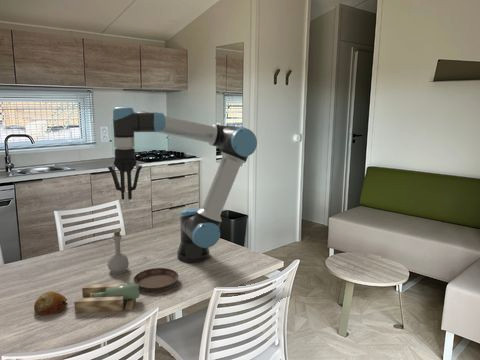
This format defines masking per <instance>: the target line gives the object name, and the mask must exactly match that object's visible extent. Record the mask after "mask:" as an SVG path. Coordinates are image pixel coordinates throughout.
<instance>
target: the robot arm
mask: <svg viewBox="0 0 480 360" xmlns="http://www.w3.org/2000/svg"><path fill="white" fill-rule="evenodd" d="M112 111H113V112H112V114H113V115H112V123H113V142H114V143H113V145H114V146H113V147H114V148H115V149H114V161H113V163H112V164H110V165H109V166H108V167H107V169H108V170H109V172H110V173H111V177H112V181H113V183H114V186H115V190H116V191H119V192H120V193H121V195H120V196H121V200H122V201H124V209H129V208H130V200H132V198H133V191H135V190H137V186H138V183H139V177H140V173H141V172H140V171H141V170H142V169H143V165H142V164H141V165H140V164H139V163H137V160H136V149H135V146H136V145H135V133H159V134H162V135H163V134H165V135H168V136H173V137H179V138H183V139H190V140H193V141H199V142H204V143H207V144H209V146H213V147H216V148H219V149H221V150H220V155H221V156H222V157H221V160H220V162H219V164H218V165H219V166H218V168H217V171H216V172H215V175H214V177H213V179H212V183H211V184H210V188H209V190H208V192H207V194H206V197H205V200H204V202H203V204H202V207H200V208H199V207H198V208H195V207H191V208H184V209H182V210H181V211H180V216H179V220H180V222H179V223H180V225H179V226H180V243H179V246H178V249H177V254H176V256H177V257H176V258H177V260H179V261H181V262H184V263H189V264H190V263H193V264H194V263H195V264H196V263H200V262H205V261H206V260H208V259H210V254H211V253H210V248H211V247H213V246H215V245H216V244H217V243H218V242H219V240H220V239H221V238H220V237H221V230H220V226H221V223H222V217H221V214H222V212H223V209H224V207H225V205H226V202H227V200H228V197H229V195H230V192H231V190H232V187H233V186H234V182H235V180H236V177H237V175H238V172H239V170H240V169H241V165H243V164H245V163H246V162H247V159H248V158H249V156H251V155H253V154H254V152H255V151H256V149H257V145H258V139H257V137H256V134H255V133H254V131H252V130H251V129H249V128H247V127H243V126H236V125H235V126H234V125H219V124H214V123H213V124H212V125H210V124H209V125H208V124H204V123H199V122H194V121H190V120H185V119H181V118H176V117H170V116H167V115H165V114H164V113H163V112H156V111H155V112H150V111H149V112H148V111H144V110H141V111H138V112H135V111H134V108H133V107H129V106H127V107H126V106H125V107H123V106H122V107H121V106H120V107H119V106H118V107H116V106H115V108H114V107H113V110H112ZM134 168H135V170H136V171H135V175H134V179H133V184H132V171H133V170H134ZM116 169H117V170H118V171H119V176H120V180H119V179H118V175H117V171H116ZM125 173H126V179H125ZM126 180H127V181H126ZM119 181H120V182H119ZM126 182H127V190H126Z"/></svg>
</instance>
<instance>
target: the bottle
mask: <svg viewBox="0 0 480 360" xmlns="http://www.w3.org/2000/svg"><path fill="white" fill-rule="evenodd" d="M120 296H123V300H126V301H127V300H128V299H134V300H135V299H139V298H140V288H139V285H138V284H135V283H134V284H128V285H125V286H116V287H108V288H106V292H100V293H90V298H97V297H120Z"/></svg>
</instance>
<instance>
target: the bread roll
mask: <svg viewBox="0 0 480 360" xmlns="http://www.w3.org/2000/svg"><path fill="white" fill-rule="evenodd" d="M67 301H68V299H67V298H66V296H65V295H62V294H61V293H59V292H56V291H53V290H48V291H46V292H44V293H42V294H40V296H39V297H37V299H36V300H35V302H34V305H33V310H34V312H35V314H36V315H39V316H45V317H46V316H50V315H57V314H59V313H61V312H62V311H64V310H65V308H66V306H68V305H69V304H68V302H67Z"/></svg>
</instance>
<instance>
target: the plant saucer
mask: <svg viewBox="0 0 480 360" xmlns="http://www.w3.org/2000/svg"><path fill="white" fill-rule="evenodd" d="M179 277H180V276H179V274H178V272H177V271H176V270H173V269H171V268H168V267H167V268H166V267H154V268H147V269H145V270H142V271H140V272H138V273H136V274H135V276H134V277H133V280H132V281H133V283H134V284H138V285H139V290H142V291H145V292H152V293H153V292H161V291H165V290H169V289H170V288H172V287H173V286H174V285H175V284H176V283H177V282H178V279H179Z"/></svg>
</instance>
